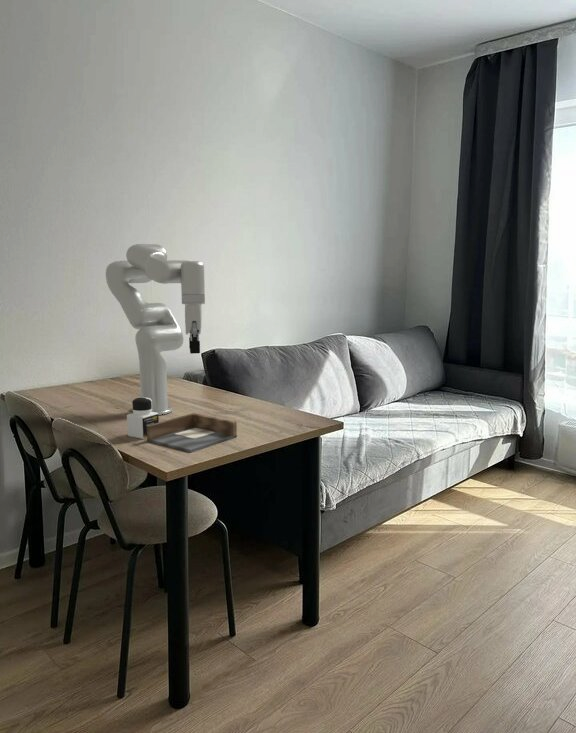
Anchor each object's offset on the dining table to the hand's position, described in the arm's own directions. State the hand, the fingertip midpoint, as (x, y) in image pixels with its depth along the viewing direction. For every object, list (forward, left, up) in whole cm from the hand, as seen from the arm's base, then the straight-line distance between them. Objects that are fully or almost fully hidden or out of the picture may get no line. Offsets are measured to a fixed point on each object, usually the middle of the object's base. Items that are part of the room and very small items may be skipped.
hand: (194, 351), depth 208 cm
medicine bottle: (-5, -19, -26) cm, 32 cm away
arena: (+11, -13, -25) cm, 30 cm away
